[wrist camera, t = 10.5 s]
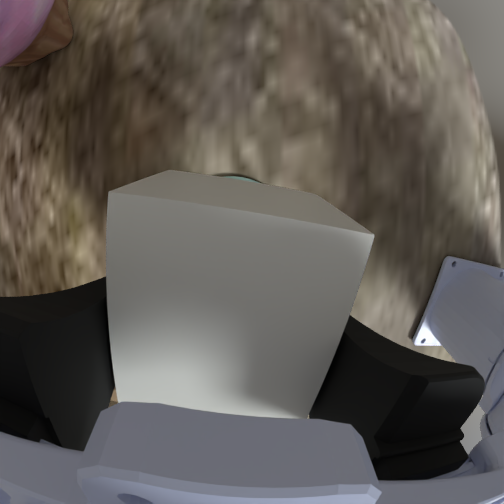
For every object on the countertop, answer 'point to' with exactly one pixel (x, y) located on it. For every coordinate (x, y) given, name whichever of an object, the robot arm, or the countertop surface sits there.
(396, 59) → the countertop surface
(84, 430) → the robot arm
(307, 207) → the white rectangular block
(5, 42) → the cupcake
